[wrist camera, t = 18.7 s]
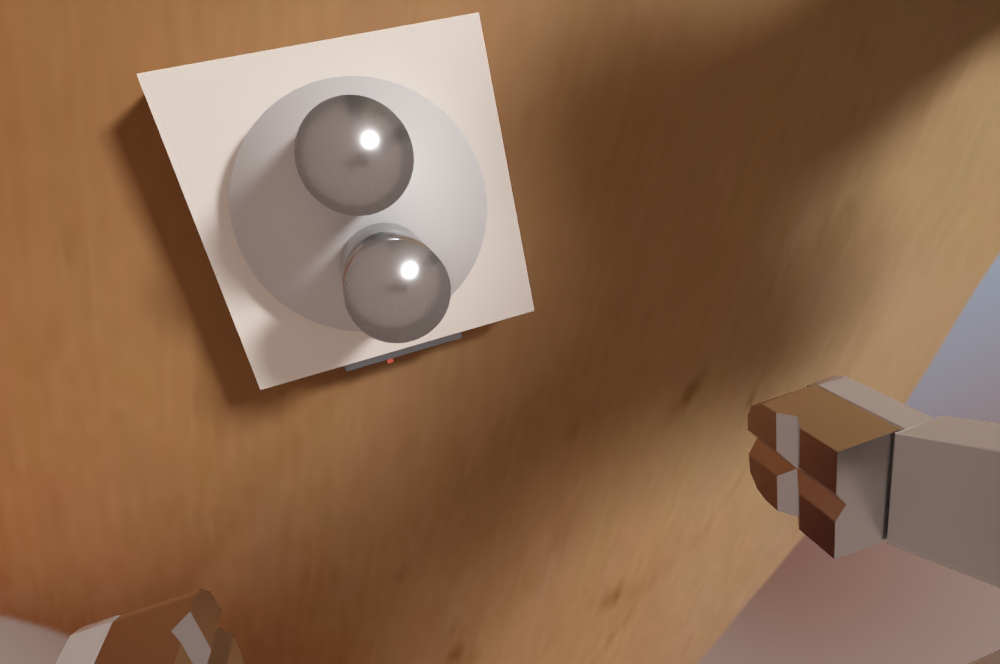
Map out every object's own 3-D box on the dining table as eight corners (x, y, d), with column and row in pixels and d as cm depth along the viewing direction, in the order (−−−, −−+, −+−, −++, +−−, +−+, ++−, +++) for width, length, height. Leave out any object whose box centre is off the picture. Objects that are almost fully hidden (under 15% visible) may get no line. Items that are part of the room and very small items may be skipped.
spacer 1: (386, 97, 24) (400, 86, 20) (406, 193, 26) (424, 204, 21) (288, 112, 23) (279, 104, 19) (314, 211, 25) (312, 226, 20)
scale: (463, 24, 28) (484, 7, 24) (519, 307, 33) (543, 327, 30) (156, 81, 25) (128, 71, 22) (270, 378, 30) (262, 410, 27)
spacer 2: (417, 212, 26) (437, 228, 21) (438, 296, 27) (461, 326, 23) (328, 235, 25) (329, 255, 21) (355, 319, 27) (361, 356, 22)
